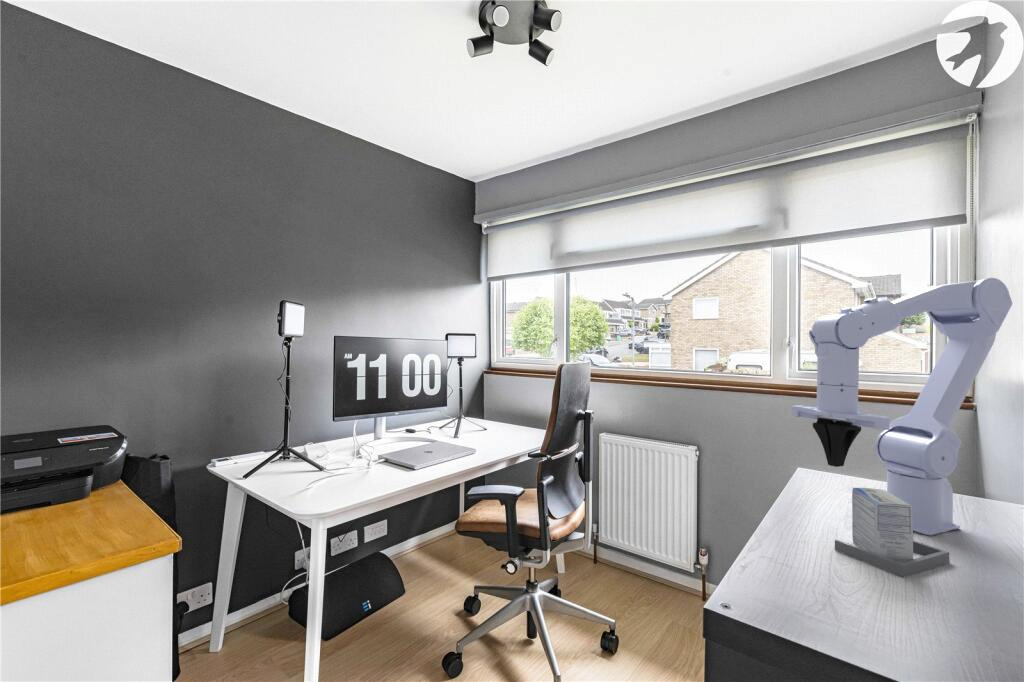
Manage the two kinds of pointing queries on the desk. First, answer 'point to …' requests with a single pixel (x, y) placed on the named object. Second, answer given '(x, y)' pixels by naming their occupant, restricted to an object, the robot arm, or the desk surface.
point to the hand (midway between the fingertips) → (835, 465)
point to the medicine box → (882, 524)
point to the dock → (928, 561)
